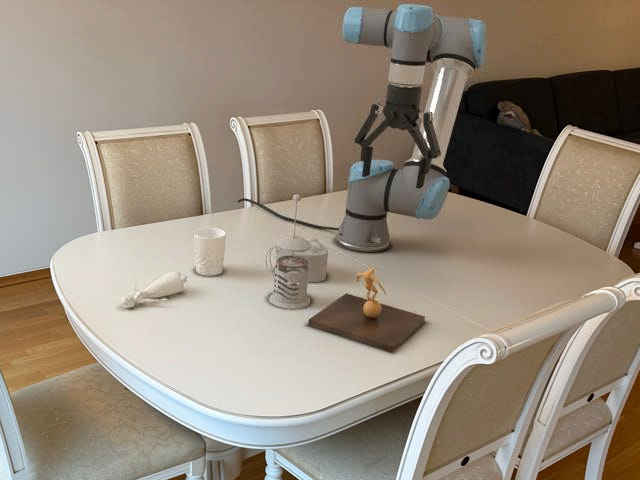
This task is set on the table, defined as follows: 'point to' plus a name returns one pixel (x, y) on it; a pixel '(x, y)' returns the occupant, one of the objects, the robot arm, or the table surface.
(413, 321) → the walnut board
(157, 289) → the woman figurine
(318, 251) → the lumpy-topped squat cylinder
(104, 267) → the table surface
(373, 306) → the figurine
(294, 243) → the french press
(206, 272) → the white cup
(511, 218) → the table surface
